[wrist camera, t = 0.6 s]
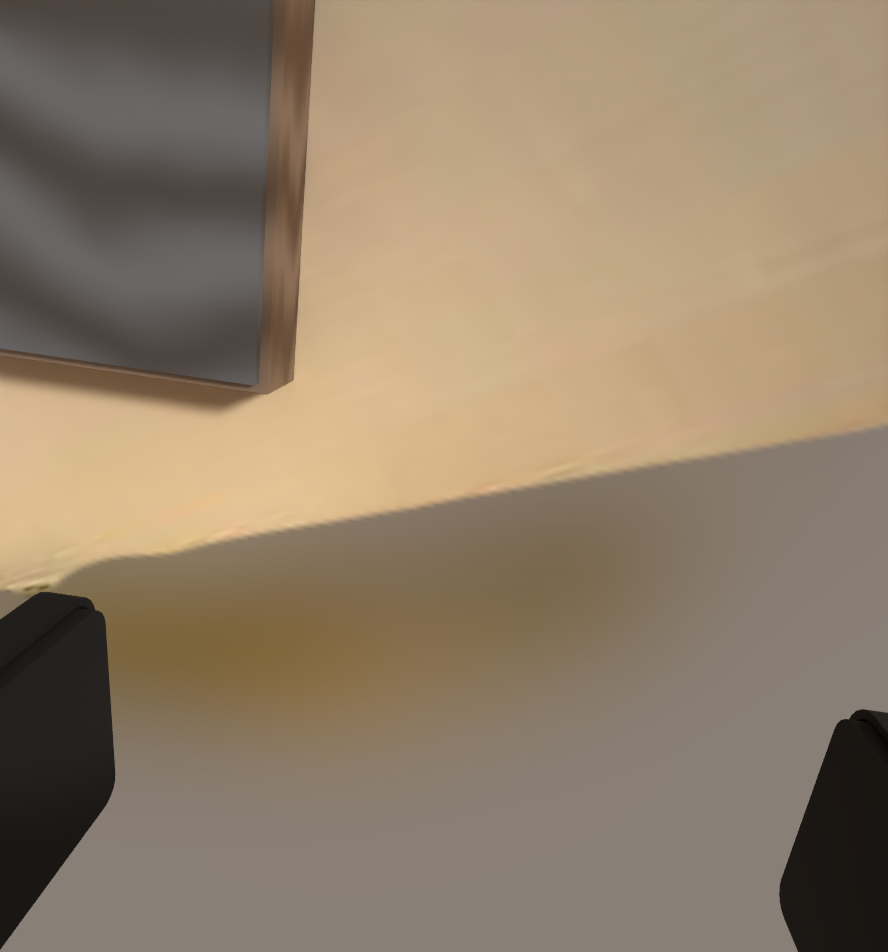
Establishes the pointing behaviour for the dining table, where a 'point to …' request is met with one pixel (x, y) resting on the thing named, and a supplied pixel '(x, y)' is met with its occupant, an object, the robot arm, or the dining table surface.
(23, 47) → the podium
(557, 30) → the dining table surface
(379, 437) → the dining table surface
